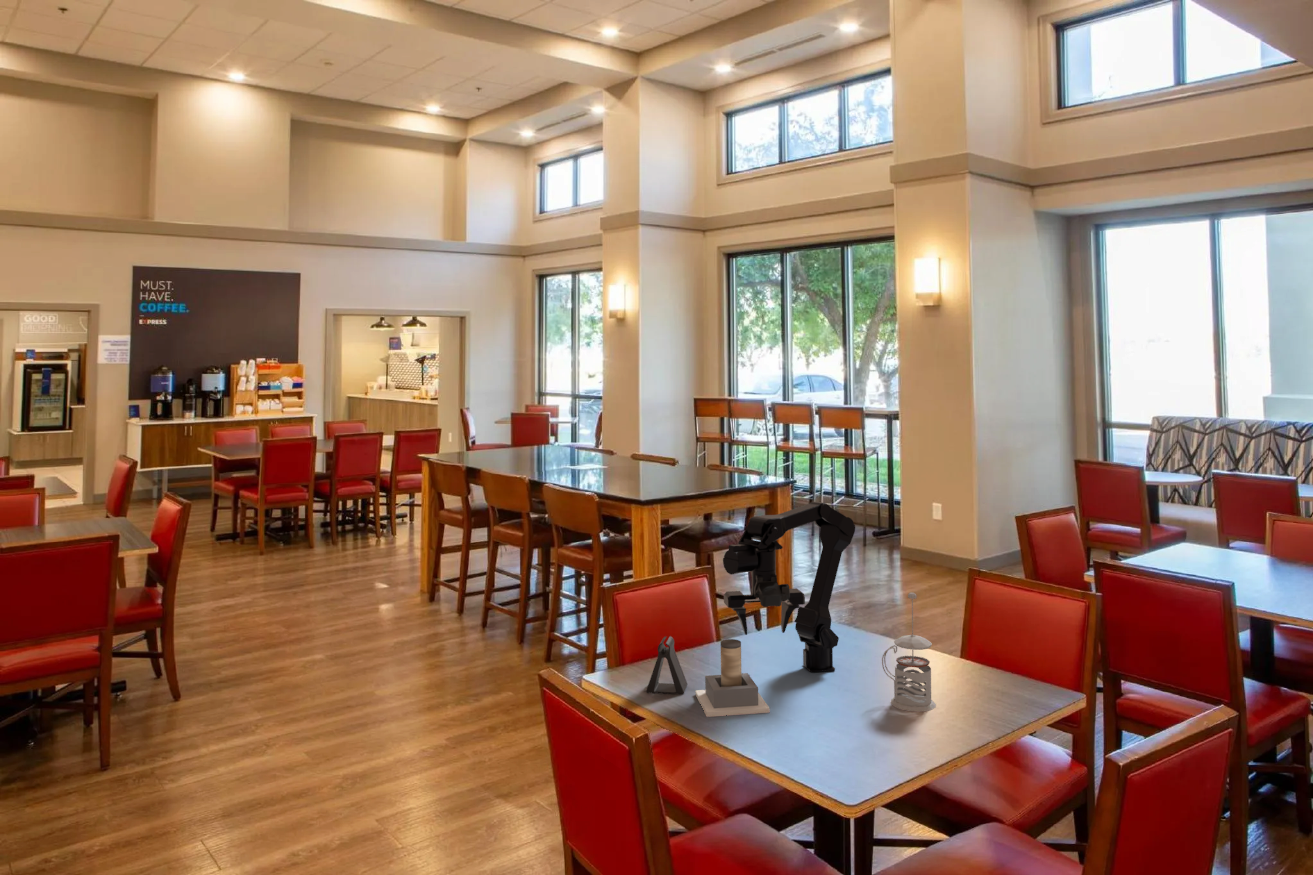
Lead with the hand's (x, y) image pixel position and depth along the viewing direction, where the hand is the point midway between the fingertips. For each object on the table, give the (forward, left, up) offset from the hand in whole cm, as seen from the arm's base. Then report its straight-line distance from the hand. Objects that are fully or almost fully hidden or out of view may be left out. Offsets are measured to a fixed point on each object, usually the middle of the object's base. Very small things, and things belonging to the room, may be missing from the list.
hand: (764, 633), depth 204 cm
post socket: (+11, +12, -12) cm, 20 cm away
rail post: (+11, +12, -11) cm, 20 cm away
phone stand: (+24, 0, -12) cm, 27 cm away
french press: (-28, +19, -12) cm, 36 cm away
